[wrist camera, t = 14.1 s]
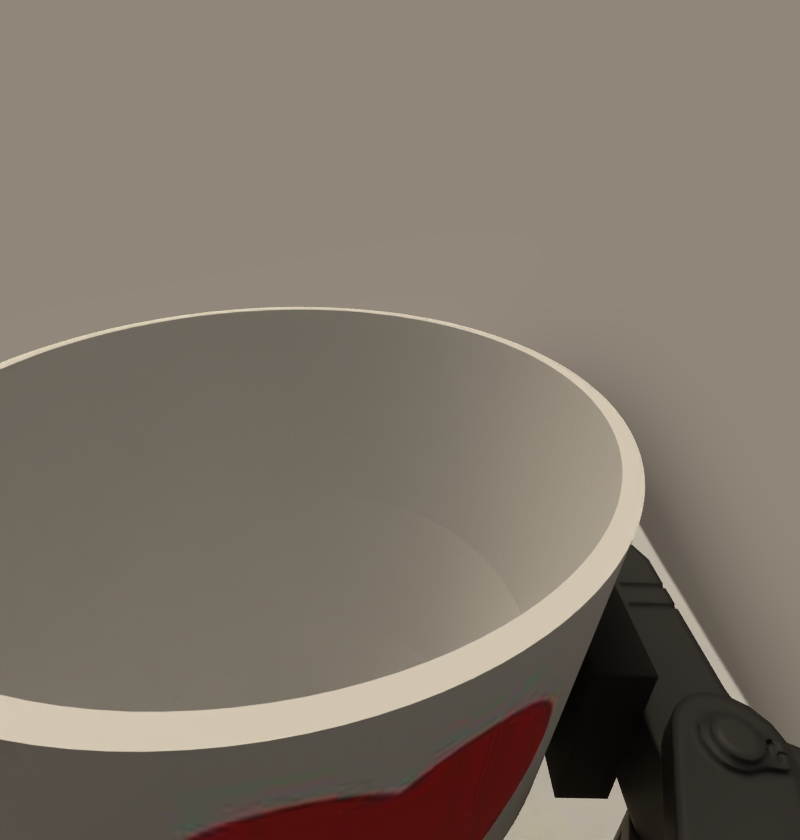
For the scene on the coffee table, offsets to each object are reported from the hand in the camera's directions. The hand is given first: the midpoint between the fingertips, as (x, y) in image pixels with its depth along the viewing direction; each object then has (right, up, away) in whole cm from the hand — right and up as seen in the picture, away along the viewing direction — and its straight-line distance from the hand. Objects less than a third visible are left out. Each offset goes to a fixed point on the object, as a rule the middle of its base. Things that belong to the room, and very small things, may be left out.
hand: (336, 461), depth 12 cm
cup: (0, -8, -1) cm, 8 cm away
